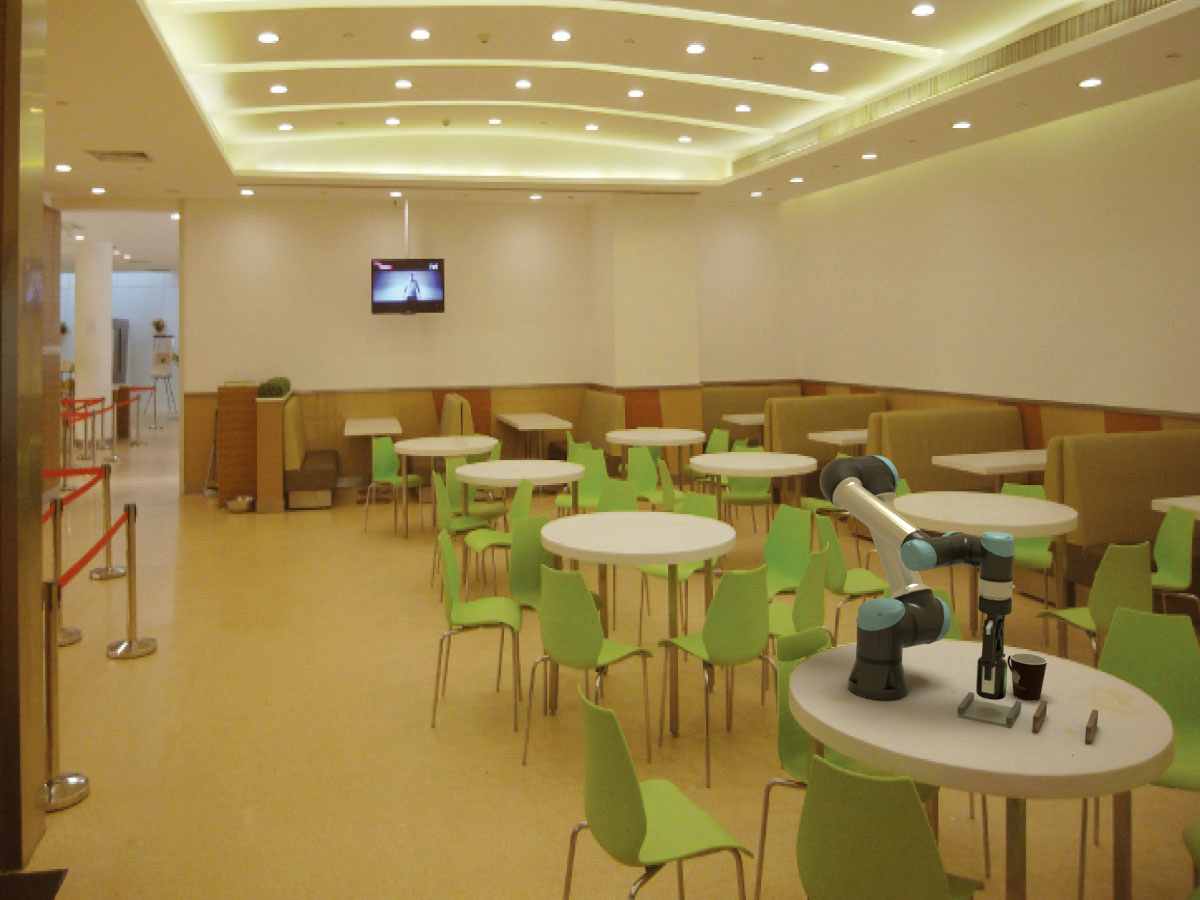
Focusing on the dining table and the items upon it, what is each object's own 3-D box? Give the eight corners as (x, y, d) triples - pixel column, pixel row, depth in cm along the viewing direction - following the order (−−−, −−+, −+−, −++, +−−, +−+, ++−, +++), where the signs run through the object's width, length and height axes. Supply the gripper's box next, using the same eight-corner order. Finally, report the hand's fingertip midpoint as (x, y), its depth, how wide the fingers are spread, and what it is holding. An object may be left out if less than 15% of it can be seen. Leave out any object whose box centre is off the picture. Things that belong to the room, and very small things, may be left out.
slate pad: (957, 716, 240) (957, 707, 239) (968, 700, 250) (969, 691, 249) (1011, 727, 233) (1011, 718, 233) (1020, 711, 243) (1021, 702, 243)
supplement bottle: (1012, 698, 239) (1014, 650, 237) (989, 701, 236) (991, 653, 235) (992, 688, 245) (994, 642, 244) (969, 692, 243) (971, 645, 241)
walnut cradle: (1032, 732, 231) (1033, 715, 230) (1040, 715, 240) (1041, 699, 240) (1090, 744, 224) (1091, 727, 223) (1097, 726, 234) (1098, 710, 233)
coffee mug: (1048, 703, 248) (1050, 665, 247) (1012, 701, 250) (1014, 663, 248) (1037, 687, 259) (1039, 650, 258) (1003, 684, 261) (1005, 648, 260)
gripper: (1003, 608, 227) (999, 703, 230) (1019, 589, 244) (1015, 678, 247) (969, 603, 231) (965, 697, 234) (987, 585, 248) (983, 672, 251)
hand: (991, 687), depth 240 cm, fingers closed on supplement bottle, 7 cm apart
